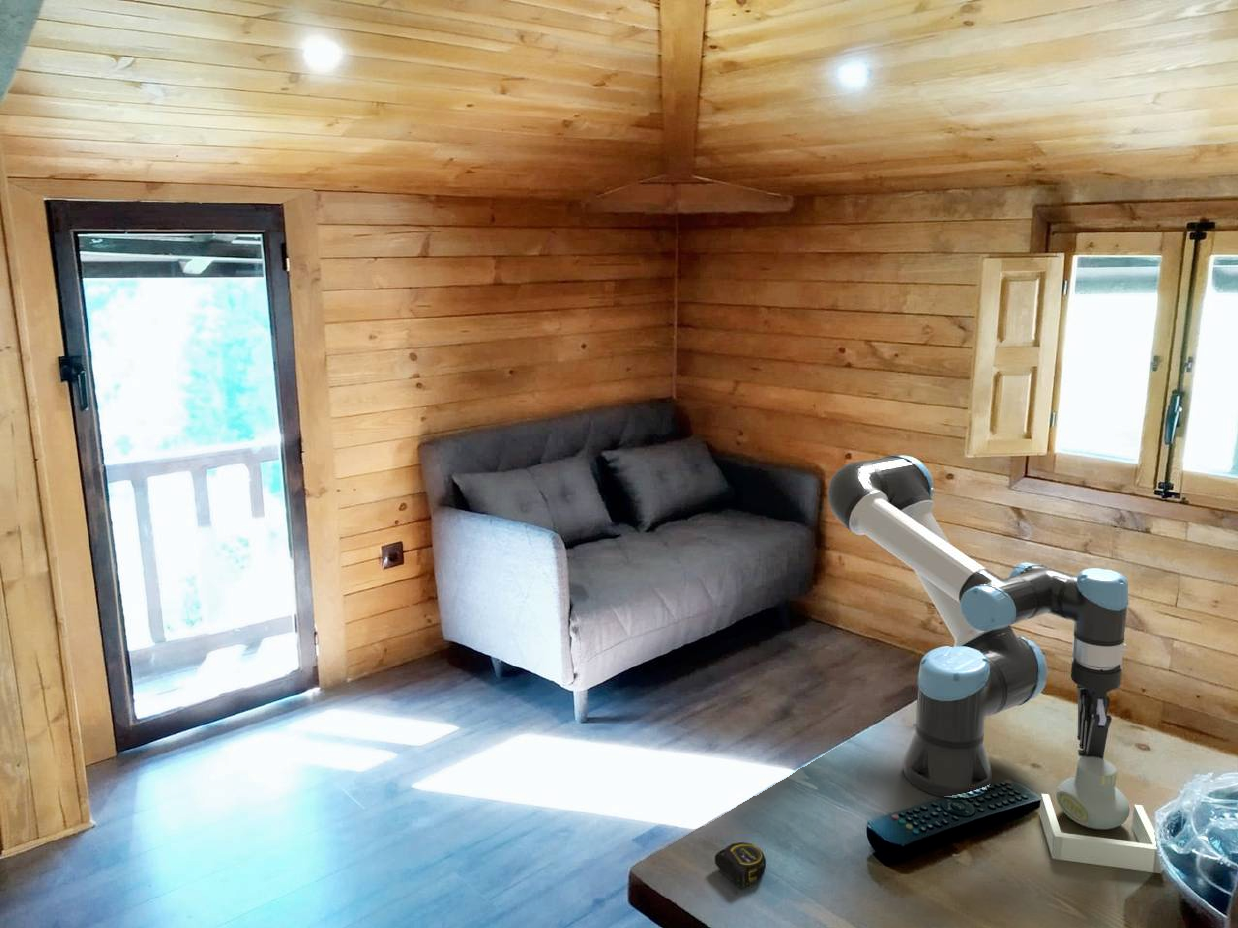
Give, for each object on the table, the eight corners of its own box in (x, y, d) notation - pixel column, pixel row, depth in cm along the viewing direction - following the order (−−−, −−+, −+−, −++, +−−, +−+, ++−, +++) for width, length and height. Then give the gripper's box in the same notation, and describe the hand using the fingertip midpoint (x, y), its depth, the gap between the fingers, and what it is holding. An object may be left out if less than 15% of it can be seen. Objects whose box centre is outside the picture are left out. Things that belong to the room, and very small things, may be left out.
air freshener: (1136, 830, 154) (1144, 778, 151) (1097, 843, 151) (1105, 790, 148) (1083, 792, 164) (1090, 742, 161) (1046, 803, 161) (1052, 753, 158)
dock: (1052, 858, 147) (1054, 836, 147) (1039, 814, 159) (1041, 793, 158) (1161, 873, 144) (1164, 850, 143) (1139, 826, 155) (1142, 805, 154)
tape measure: (712, 869, 147) (712, 848, 146) (748, 856, 150) (748, 835, 149) (737, 895, 141) (737, 873, 140) (774, 880, 144) (774, 859, 143)
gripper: (1132, 679, 150) (1120, 809, 156) (1111, 646, 162) (1101, 768, 167) (1081, 676, 152) (1071, 805, 157) (1064, 643, 164) (1055, 765, 169)
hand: (1086, 786), depth 162 cm, fingers closed
